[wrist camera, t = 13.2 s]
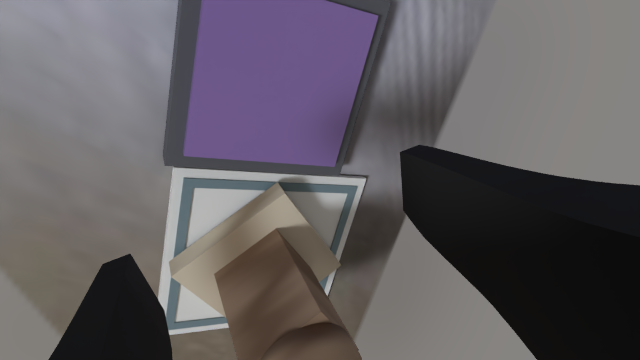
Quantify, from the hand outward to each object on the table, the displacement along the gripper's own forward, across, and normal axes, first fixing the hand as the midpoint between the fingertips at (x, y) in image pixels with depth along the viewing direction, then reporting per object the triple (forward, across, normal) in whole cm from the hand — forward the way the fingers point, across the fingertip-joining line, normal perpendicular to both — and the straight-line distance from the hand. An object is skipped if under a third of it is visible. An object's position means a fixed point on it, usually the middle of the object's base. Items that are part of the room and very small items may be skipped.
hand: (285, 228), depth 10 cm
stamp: (+10, 0, +9) cm, 14 cm away
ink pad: (+10, -3, -1) cm, 11 cm away
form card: (+10, 0, +10) cm, 14 cm away
